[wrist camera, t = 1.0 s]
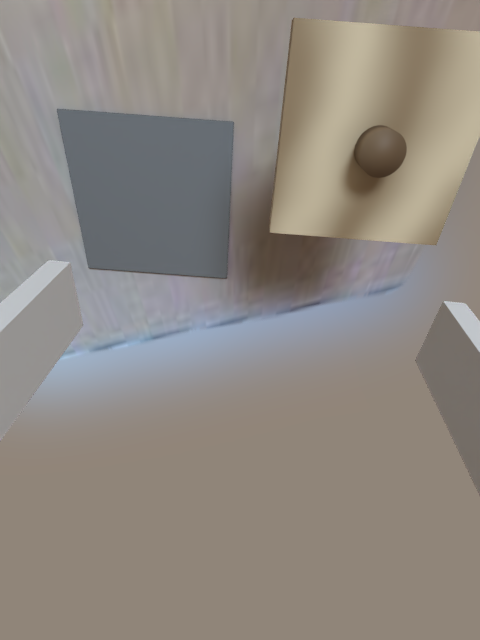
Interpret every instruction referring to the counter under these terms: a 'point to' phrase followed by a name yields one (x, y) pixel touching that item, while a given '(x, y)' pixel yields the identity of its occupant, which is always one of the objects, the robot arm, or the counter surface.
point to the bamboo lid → (374, 130)
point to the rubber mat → (151, 190)
